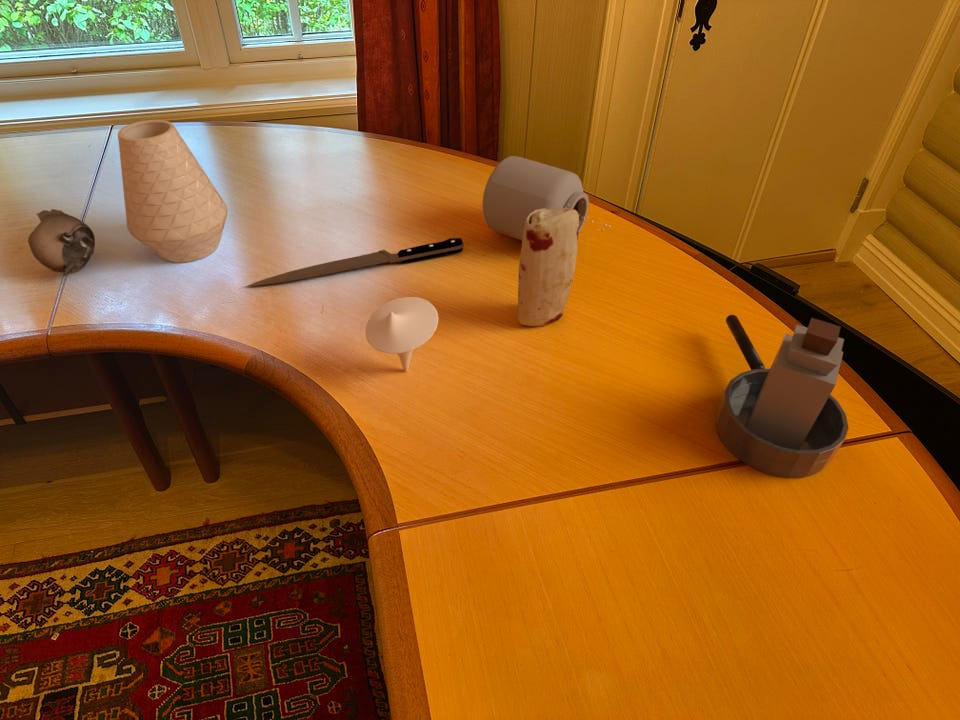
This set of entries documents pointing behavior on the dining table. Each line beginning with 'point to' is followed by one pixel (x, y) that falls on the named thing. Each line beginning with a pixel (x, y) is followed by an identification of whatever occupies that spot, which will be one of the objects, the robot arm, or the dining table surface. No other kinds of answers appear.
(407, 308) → the white spinning top
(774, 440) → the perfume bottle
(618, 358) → the dining table surface
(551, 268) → the food model
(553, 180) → the jar
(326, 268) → the steak knife
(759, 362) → the pan handle
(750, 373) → the pan
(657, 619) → the dining table surface
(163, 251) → the vase
